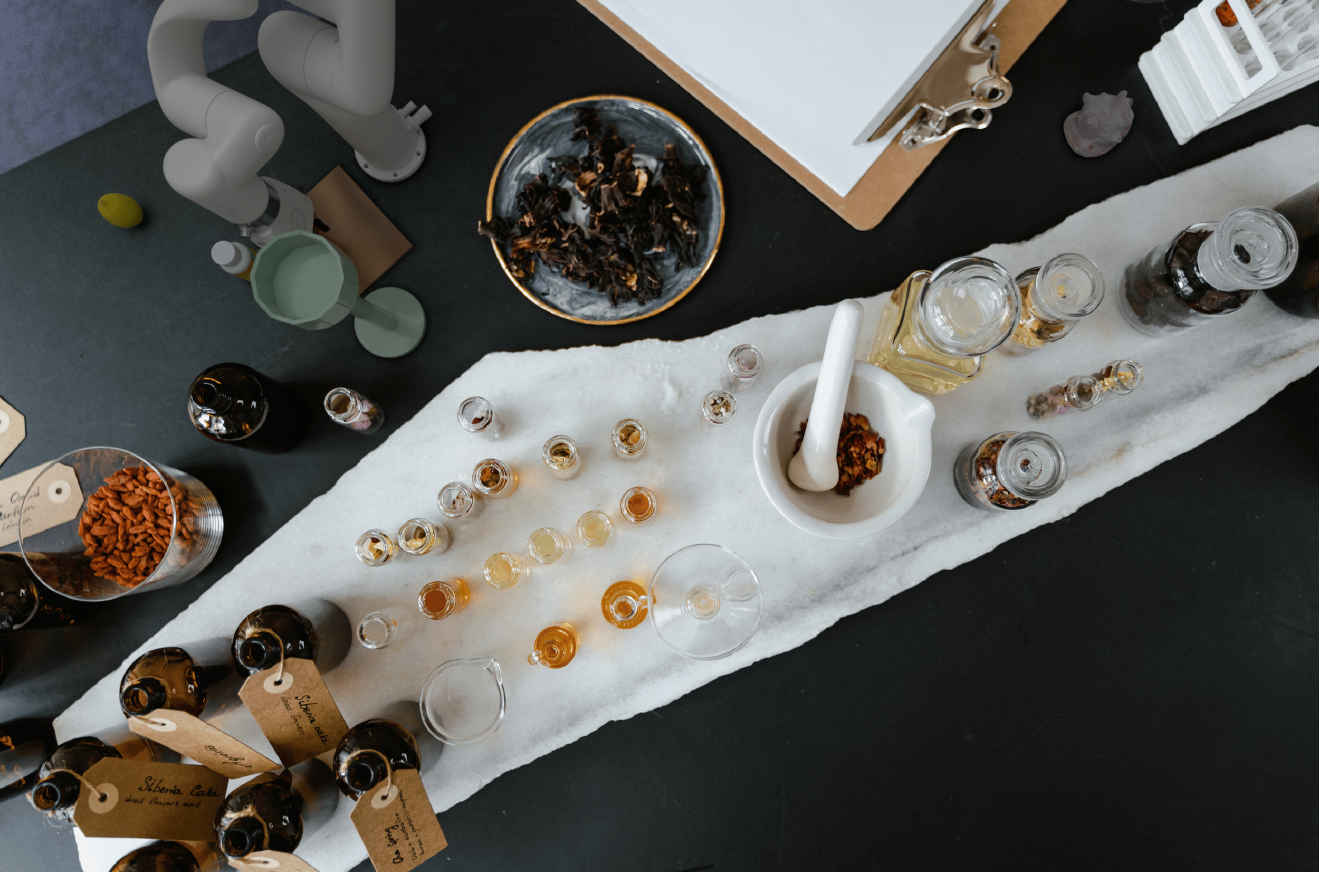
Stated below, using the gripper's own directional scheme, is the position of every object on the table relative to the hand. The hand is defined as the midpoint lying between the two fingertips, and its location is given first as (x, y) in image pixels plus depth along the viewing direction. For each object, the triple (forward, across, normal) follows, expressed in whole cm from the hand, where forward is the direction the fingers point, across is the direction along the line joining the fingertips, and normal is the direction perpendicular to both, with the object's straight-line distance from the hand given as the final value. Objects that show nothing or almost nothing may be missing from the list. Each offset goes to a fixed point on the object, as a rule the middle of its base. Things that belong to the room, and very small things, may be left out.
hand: (319, 245), depth 112 cm
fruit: (+6, +6, +37) cm, 38 cm away
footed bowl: (+6, -12, -10) cm, 17 cm away
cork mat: (+6, +2, +1) cm, 7 cm away
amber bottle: (+4, 0, 0) cm, 4 cm away
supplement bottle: (+6, -3, +14) cm, 16 cm away
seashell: (+6, +27, -132) cm, 134 cm away
